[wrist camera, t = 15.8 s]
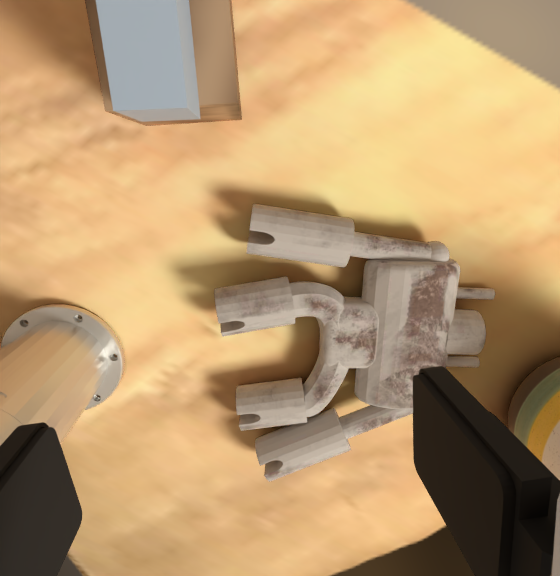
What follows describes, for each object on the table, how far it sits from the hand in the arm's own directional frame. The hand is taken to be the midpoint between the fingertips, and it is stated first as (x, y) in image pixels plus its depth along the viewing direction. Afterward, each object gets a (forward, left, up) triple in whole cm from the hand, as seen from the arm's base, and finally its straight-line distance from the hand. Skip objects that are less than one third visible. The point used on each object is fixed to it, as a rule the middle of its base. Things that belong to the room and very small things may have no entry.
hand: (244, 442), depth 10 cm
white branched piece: (+12, -12, -33) cm, 37 cm away
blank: (-4, +17, -21) cm, 27 cm away
